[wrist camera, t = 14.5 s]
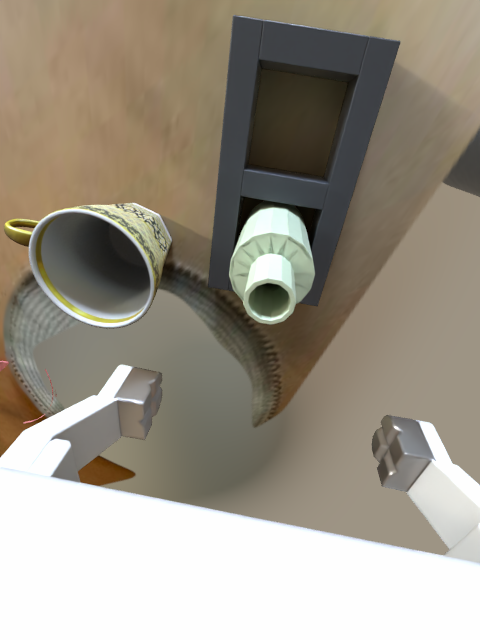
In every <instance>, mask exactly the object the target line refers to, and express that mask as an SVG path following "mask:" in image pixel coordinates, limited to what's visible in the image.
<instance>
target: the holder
mask: <svg viewBox="0 0 480 640" xmlns="http://www.w3.org/2000/svg"><path fill="white" fill-rule="evenodd" d="M399 45H400V41H396V40H390V39H384V38H377V37H371V36H370V37H369V36H364V35H358V34H352V33H345V32H339V31H333V30H326V29H320V28H313V27H307V26H301V25H294V24H288V23H282V22H275V21H269V20H264V21H263V20H262V19H256V18H249V17H243V16H237V15H233V21H232V32H231V43H230V53H229V64H228V75H227V86H226V97H225V108H224V119H223V129H222V140H221V151H220V162H219V173H218V184H217V194H216V205H215V216H214V227H213V238H212V249H211V259H210V270H209V281H208V287H211V288H217V289H223V290H229V291H234V290H233V287H232V283H231V280H230V277H229V271H230V263H231V258H232V256H233V253H234V250H235V248H236V245H237V242H238V236H239V229H240V222H241V215H242V207H243V200H244V197H249V198H255V199H261V200H267V201H273V202H279V203H285V204H290V205H296V206H302V207H308V208H314V209H315V213H314V216H313V220H312V224H311V228H310V232H309V236H308V240H309V244H310V249H311V253H312V257H313V263H314V270H315V276H314V280H313V283H312V287H311V289H310V291H309V292H308V293H307V294H306V296H305V297H304V298H303V299H302V301H300V302H299V303H302V304H307V305H313V306H318V303H319V300H320V297H321V294H322V290H323V287H324V284H325V281H326V278H327V274H328V271H329V268H330V265H331V262H332V259H333V255H334V252H335V249H336V246H337V243H338V239H339V236H340V233H341V230H342V227H343V224H344V220H345V217H346V214H347V211H348V208H349V204H350V201H351V198H352V195H353V192H354V188H355V185H356V182H357V179H358V176H359V173H360V169H361V166H362V163H363V160H364V157H365V153H366V150H367V147H368V144H369V141H370V137H371V134H372V131H373V128H374V125H375V122H376V118H377V115H378V112H379V109H380V106H381V102H382V99H383V96H384V93H385V90H386V86H387V83H388V80H389V77H390V74H391V71H392V67H393V64H394V61H395V58H396V55H397V51H398V48H399ZM262 68H263V69H269V70H275V71H281V72H288V73H294V74H300V75H306V76H312V77H319V78H325V79H331V80H337V81H344V82H348V85H347V89H346V93H345V97H344V101H343V105H342V109H341V112H340V116H339V120H338V124H337V128H336V132H335V136H334V139H333V143H332V147H331V151H330V155H329V159H328V163H327V166H326V170H325V174H324V177H321V176H315V175H309V174H303V173H297V172H291V171H285V170H279V169H273V168H267V167H261V166H255V165H248V164H249V156H250V149H251V142H252V135H253V127H254V120H255V113H256V106H257V98H258V91H259V84H260V76H261V69H262ZM234 292H235V291H234Z"/></svg>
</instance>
